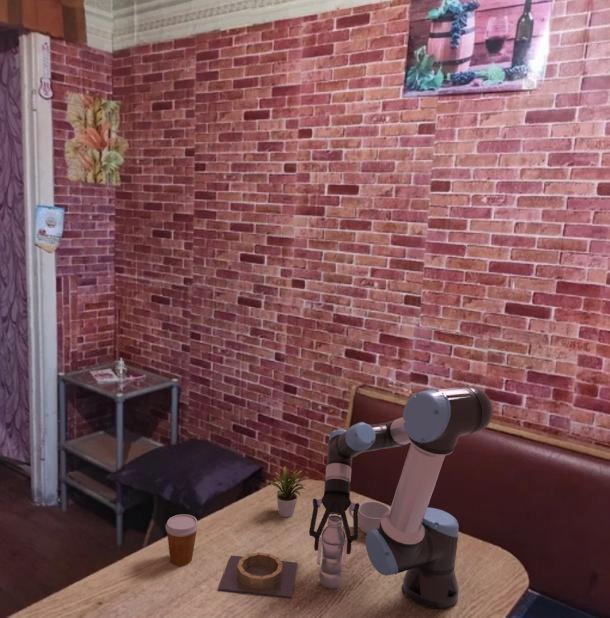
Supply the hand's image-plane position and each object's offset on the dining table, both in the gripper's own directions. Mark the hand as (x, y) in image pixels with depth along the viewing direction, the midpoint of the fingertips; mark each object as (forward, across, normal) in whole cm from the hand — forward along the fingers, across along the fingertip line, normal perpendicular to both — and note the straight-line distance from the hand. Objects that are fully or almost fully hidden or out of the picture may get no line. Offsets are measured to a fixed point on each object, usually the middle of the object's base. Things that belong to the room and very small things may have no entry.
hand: (331, 564), depth 162 cm
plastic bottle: (+4, 0, -9) cm, 9 cm away
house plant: (-22, +17, -34) cm, 44 cm away
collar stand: (+3, +20, -8) cm, 22 cm away
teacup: (-19, -11, -31) cm, 38 cm away
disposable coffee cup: (+1, +44, -12) cm, 45 cm away
